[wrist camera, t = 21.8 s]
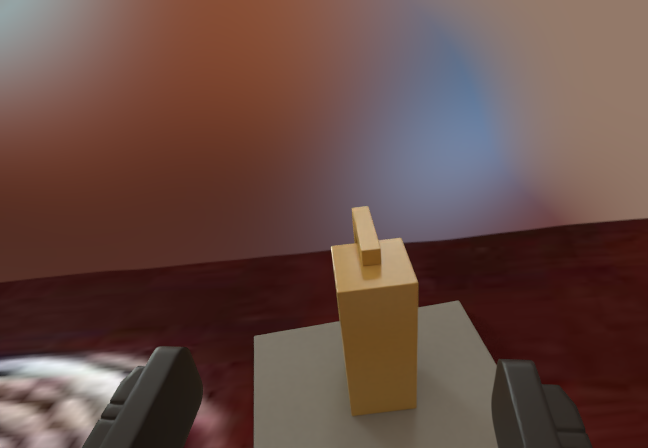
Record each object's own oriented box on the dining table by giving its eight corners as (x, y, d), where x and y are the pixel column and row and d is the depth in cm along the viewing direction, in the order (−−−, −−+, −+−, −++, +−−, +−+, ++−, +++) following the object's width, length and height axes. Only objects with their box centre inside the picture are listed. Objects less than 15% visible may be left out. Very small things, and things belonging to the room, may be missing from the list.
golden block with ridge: (351, 416, 27) (335, 277, 21) (341, 339, 32) (326, 210, 26) (416, 408, 27) (419, 266, 21) (396, 333, 32) (393, 202, 26)
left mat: (255, 509, 23) (253, 504, 23) (255, 341, 34) (254, 335, 33) (542, 453, 24) (544, 447, 24) (458, 305, 34) (458, 300, 34)
